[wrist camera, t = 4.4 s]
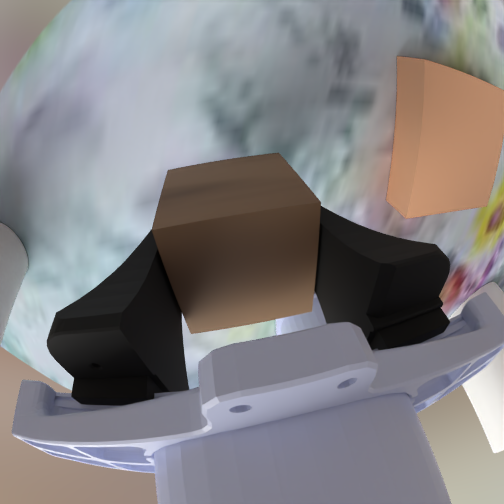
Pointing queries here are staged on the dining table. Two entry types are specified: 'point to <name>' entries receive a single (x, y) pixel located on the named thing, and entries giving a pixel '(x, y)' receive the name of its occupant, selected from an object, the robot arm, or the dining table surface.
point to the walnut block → (238, 241)
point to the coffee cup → (10, 272)
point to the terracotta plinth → (443, 139)
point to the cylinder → (489, 382)
